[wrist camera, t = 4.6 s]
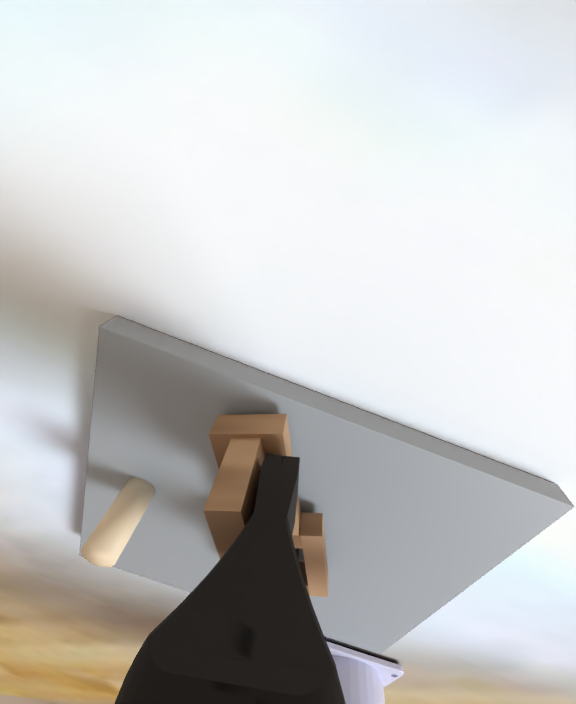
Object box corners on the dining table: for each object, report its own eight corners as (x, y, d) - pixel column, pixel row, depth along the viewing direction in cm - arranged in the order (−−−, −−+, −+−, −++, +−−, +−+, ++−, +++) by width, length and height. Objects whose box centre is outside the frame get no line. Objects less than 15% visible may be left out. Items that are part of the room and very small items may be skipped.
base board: (377, 633, 24) (392, 772, 18) (91, 538, 22) (10, 657, 17) (557, 484, 15) (689, 657, 10) (116, 315, 14) (-29, 404, 8)
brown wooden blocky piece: (328, 573, 18) (328, 678, 14) (240, 568, 19) (217, 666, 15) (313, 413, 13) (306, 508, 9) (193, 415, 14) (141, 504, 10)
